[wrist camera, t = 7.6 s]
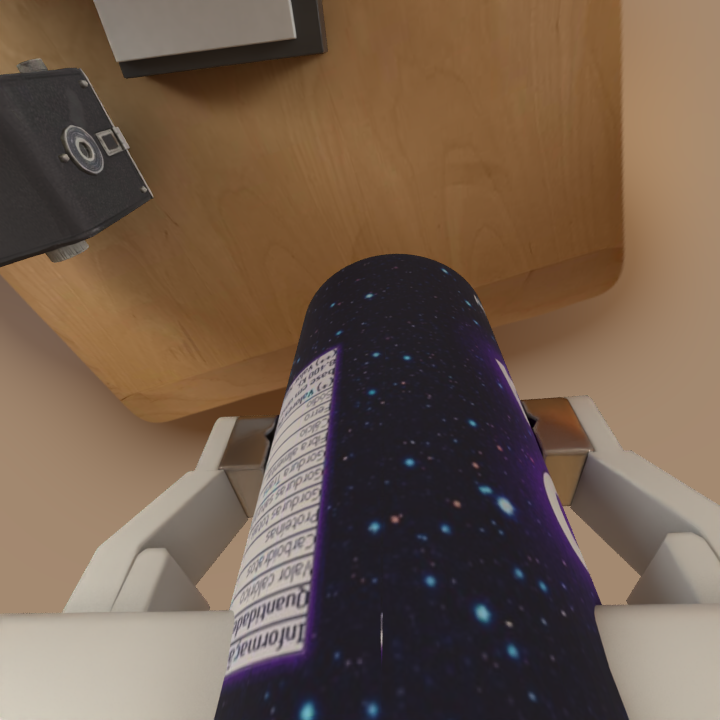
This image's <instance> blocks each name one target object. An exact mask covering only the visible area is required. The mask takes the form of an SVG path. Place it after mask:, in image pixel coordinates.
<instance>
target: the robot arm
mask: <svg viewBox="0 0 720 720" xmlns="http://www.w3.org/2000/svg"><path fill="white" fill-rule="evenodd" d="M520 401H521V404H522V406H523V409H524V411H525V414H526V416H527V419H528V421H529V424H530V426H531V429H532V432H533V434H534V437H535V439H536V442H537V444H538V447H539V449H540V452H541V454H542V457H543V459H544V462H545V464H546V467H547V469H548V472H549V474H550V477H551V479H552V482H553V484H554V487H555V489H556V492H557V494H558V497H559V499H560V502H561V504H562V506H571V507H570V508H571V509H572V510H573V511H574V512H575V513H576V514H577V515H578V516H579V517H580V518H582V519H583V521H585V522H586V523H587V524H588V525H589V526H590V527H591V528H592V529H593V530H594V531H595V532H596V533H597V534H598V535H599V536H600V537H601V538H602V539H603V540H604V541H605V542H606V543H607V544H608V545H609V546H611V547H612V548H613V549H614V550H615V551H616V552H617V553H618V554H619V555H620V556H621V557H622V558H623V559H624V560H625V561H626V562H627V563H628V564H629V565H630V566H631V567H632V568H633V569H634V570H635V571H637V573H638V574H639V575H641V578H640V579H639V581H638V582H637V584H636V586H635V587H634V589H633V590H632V592H631V594H630V595H629V597H628V599H627V600H626V601H627V603H628V605H596V606H595V611H594V614H595V620H596V623H597V627H598V630H599V634H600V637H601V640H602V644H603V647H604V651H605V654H606V657H607V661H608V664H609V668H610V670H611V673H612V676H613V678H614V681H615V683H616V686H617V689H618V691H619V694H620V697H621V699H622V702H623V704H624V707H625V710H626V712H627V715H628V718H629V720H720V505H718V504H716V503H715V502H713V501H712V500H710V499H708V498H707V497H705V496H703V495H702V494H700V493H699V492H697V491H695V490H694V489H692V488H691V487H689V486H687V485H685V484H684V483H683V482H681V481H679V480H678V479H676V478H674V477H673V476H671V475H670V474H668V473H666V472H665V471H663V470H662V469H660V468H658V467H657V466H655V465H654V464H652V463H650V462H649V461H647V460H646V459H644V458H642V457H641V456H639V455H638V454H635V453H634V452H633V451H624V450H623V449H622V447H621V445H620V444H619V442H618V441H617V439H616V437H615V436H614V434H613V432H612V431H611V429H610V428H609V426H608V424H607V423H606V421H605V419H604V418H603V416H602V414H601V413H600V411H599V410H598V408H597V406H596V405H595V403H594V401H593V400H592V399H591V398H590V397H589V396H588V395H585V396H572V397H564V398H562V397H558V398H544V399H529V400H520ZM279 416H280V415H261V416H259V415H258V416H240V417H220V418H219V419H218V420H217V421H216V422H215V424H214V427H213V429H212V431H211V434H210V436H209V438H208V441H207V443H206V445H205V448H204V450H203V452H202V455H201V457H200V460H199V462H198V464H197V466H196V469H195V471H189V472H187V473H186V474H185V475H184V476H183V477H181V478H180V479H179V480H178V481H177V482H175V483H174V484H173V485H172V486H171V487H170V488H168V489H167V490H166V491H165V492H164V493H162V494H161V495H160V496H159V497H158V498H156V499H155V500H154V501H153V502H152V503H151V504H149V505H148V506H147V507H146V508H145V509H143V510H142V511H141V512H140V513H139V514H138V515H136V516H135V517H134V518H133V519H131V520H130V521H129V522H128V523H127V524H126V525H124V526H123V527H122V528H121V529H120V530H118V532H116V533H115V534H114V535H112V536H111V537H110V538H109V539H108V540H106V541H105V542H104V543H103V544H102V545H101V546H99V547H98V549H97V550H96V552H95V554H94V556H93V557H92V559H91V561H90V563H89V565H88V566H87V568H86V570H85V572H84V574H83V576H82V577H81V579H80V581H79V583H78V584H77V586H76V588H75V590H74V592H73V593H72V595H71V597H70V599H69V601H68V603H67V604H66V606H65V608H64V610H63V612H62V613H26V614H25V613H21V614H0V720H214V717H215V713H216V709H217V705H218V701H219V697H220V693H221V689H222V685H223V681H224V677H225V672H226V668H227V662H228V656H229V650H230V644H231V638H232V633H233V627H234V612H233V611H232V610H222V611H209V610H210V606H209V604H208V602H207V601H206V600H205V598H204V597H203V596H202V594H201V593H200V592H199V591H198V589H197V588H196V587H195V585H196V584H197V583H198V582H199V581H200V579H201V578H202V577H203V576H204V574H205V573H206V572H207V571H208V569H209V568H210V567H211V566H212V564H213V563H214V562H215V561H216V559H217V558H218V557H219V556H220V554H221V553H222V551H224V549H225V548H226V547H227V545H228V544H229V543H230V542H231V541H232V539H233V538H234V536H236V534H237V533H238V532H239V530H240V529H241V528H242V527H243V525H244V524H245V523H246V522H247V520H248V518H250V517H253V516H254V513H255V509H256V505H257V501H258V497H259V493H260V489H261V486H262V482H263V478H264V474H265V470H266V466H267V462H268V458H269V455H270V451H271V447H272V443H273V439H274V435H275V431H276V427H277V424H278V420H279Z"/></svg>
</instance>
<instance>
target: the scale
mask: <svg viewBox="0 0 720 720" xmlns="http://www.w3.org/2000/svg"><path fill="white" fill-rule="evenodd" d="M93 1H94V4H95V6H96V9H97V12H98V14H99V17H100V20H101V22H102V25H103V28H104V30H105V33H106V36H107V38H108V41H109V44H110V46H111V49H112V52H113V54H114V57H115V60H116V62H119V65H120V67H121V70H122V73H123V76H124V78H126V79H128V78H135V77H143V76H151V75H159V74H166V73H174V72H182V71H190V70H197V69H205V68H213V67H220V66H228V65H236V64H244V63H251V62H259V61H267V60H275V59H282V58H290V57H298V56H306V55H313V54H321V53H326V52H328V48H327V40H326V31H325V23H324V15H323V7H322V0H93Z"/></svg>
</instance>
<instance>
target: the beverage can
mask: <svg viewBox="0 0 720 720" xmlns="http://www.w3.org/2000/svg"><path fill="white" fill-rule="evenodd" d="M596 605H602V604H601V602H600V599H599V597H598V594H597V592H596V589H595V587H594V584H593V582H592V579H591V577H590V574H589V572H588V569H587V567H586V564H585V562H584V559H583V557H582V554H581V552H580V549H579V547H578V544H577V542H576V539H575V537H574V534H573V532H572V529H571V527H570V524H569V522H568V519H567V517H566V514H565V512H564V509H563V507H562V504H561V502H560V499H559V497H558V494H557V492H556V489H555V487H554V484H553V482H552V479H551V477H550V474H549V472H548V469H547V467H546V464H545V462H544V459H543V457H542V454H541V452H540V449H539V447H538V444H537V442H536V439H535V437H534V434H533V432H532V429H531V426H530V424H529V421H528V419H527V416H526V414H525V411H524V409H523V406H522V404H521V401H520V399H519V397H518V394H517V391H516V389H515V387H514V384H513V382H512V379H511V377H510V374H509V371H508V369H507V366H506V364H505V362H504V359H503V357H502V354H501V351H500V349H499V347H498V344H497V342H496V339H495V337H494V334H493V331H492V329H491V326H490V324H489V321H488V319H487V316H486V314H485V311H484V309H483V306H482V304H481V302H480V300H479V298H478V296H477V294H476V292H475V291H474V289H473V288H472V287H471V286H470V284H469V283H468V282H467V281H466V280H465V279H464V278H463V277H462V276H460V275H459V274H458V273H457V272H455V271H454V270H452V269H451V268H449V267H447V266H445V265H443V264H441V263H439V262H437V261H434V260H431V259H428V258H425V257H421V256H415V255H408V254H386V255H379V256H374V257H369V258H366V259H363V260H360V261H357V262H355V263H353V264H351V265H348V266H347V267H345V268H343V269H341V270H340V271H338V272H337V273H335V274H334V275H333V276H332V277H330V278H329V279H328V280H327V281H326V282H325V283H324V284H323V285H322V286H321V287H320V288H319V290H318V291H317V292H316V294H315V295H314V297H313V299H312V300H311V302H310V304H309V307H308V309H307V312H306V315H305V319H304V323H303V327H302V331H301V335H300V339H299V342H298V346H297V350H296V354H295V358H294V362H293V366H292V369H291V373H290V377H289V381H288V385H287V389H286V393H285V397H284V400H283V404H282V408H281V413H280V416H279V420H278V424H277V427H276V431H275V435H274V439H273V443H272V447H271V451H270V455H269V458H268V462H267V466H266V470H265V474H264V478H263V482H262V486H261V489H260V493H259V497H258V501H257V505H256V509H255V513H254V516H253V521H252V524H251V528H250V532H249V536H248V540H247V544H246V547H245V551H244V555H243V559H242V563H241V567H240V571H239V574H238V579H237V583H236V586H235V590H234V594H233V598H232V602H231V605H230V609H229V610H232V611H233V612H234V627H233V633H232V638H231V644H230V650H229V656H228V662H227V668H226V672H225V677H224V681H223V685H222V689H221V693H220V697H219V701H218V705H217V709H216V713H215V717H214V720H629V718H628V715H627V712H626V710H625V707H624V704H623V702H622V699H621V697H620V694H619V691H618V689H617V686H616V683H615V681H614V678H613V676H612V673H611V670H610V668H609V664H608V661H607V657H606V654H605V651H604V647H603V644H602V640H601V637H600V634H599V630H598V627H597V623H596V620H595V614H594V611H595V606H596Z"/></svg>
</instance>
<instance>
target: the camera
mask: <svg viewBox="0 0 720 720" xmlns="http://www.w3.org/2000/svg"><path fill="white" fill-rule="evenodd" d="M17 68H18V70H19V71H20V73H15V74H3V75H0V267H2V266H5V265H8V264H11V263H14V262H17V261H21V260H24V259H27V258H30V257H33V256H36V255H40V254H43V253H46V255H47V256H48V257H49V258H50V260H51V261H52V262H61V261H64V260H66V259H69V258H71V257H74V256H76V255H78V254H80V253H82V252H84V251H85V250H86V249H88V247H89V245H88V244H87V243H86V241H85V240H86V239H88V238H90V237H93V236H95V235H96V234H98V233H99V232H101V231H103V230H104V229H106V228H107V227H109V226H110V225H112V224H114V223H115V222H117V221H118V220H120V219H121V218H123V217H125V216H126V215H128V214H129V213H131V212H132V211H134V210H135V209H137V208H138V207H140V206H141V205H143V204H144V203H146V202H147V201H149V200H150V199H153V198H154V197H153V194H152V192H151V190H150V189H149V187H148V185H147V183H146V181H145V180H144V178H143V176H142V174H141V173H140V171H139V169H138V167H137V166H136V164H135V162H134V160H133V159H132V157H131V155H130V153H129V152H128V150H127V149H129V148H130V147H129V145H128V144H127V142H126V140H125V138H124V136H123V135H122V133H121V131H120V129H119V127H114V125H113V123H112V121H111V119H110V118H109V116H108V114H107V112H106V110H105V108H104V107H103V105H102V103H101V101H100V99H99V97H98V96H97V94H96V92H95V90H94V88H93V86H92V85H91V83H90V81H89V79H88V77H87V76H86V75H85V73H84V72H83V71H82V70H81V68H79V69H77V68H64V69H58V70H49V71H48V69H47V67H46V66H45V64H44V63H43V61H42V59H32V60H28V61H25V62H22V63H20V64H18V65H17Z"/></svg>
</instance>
